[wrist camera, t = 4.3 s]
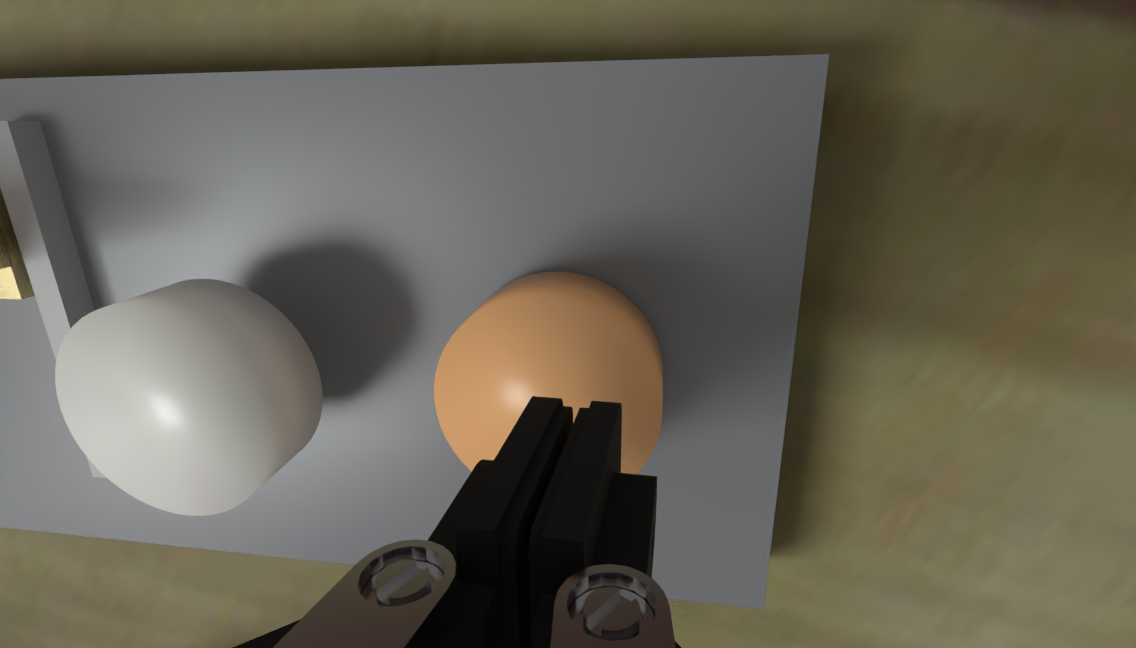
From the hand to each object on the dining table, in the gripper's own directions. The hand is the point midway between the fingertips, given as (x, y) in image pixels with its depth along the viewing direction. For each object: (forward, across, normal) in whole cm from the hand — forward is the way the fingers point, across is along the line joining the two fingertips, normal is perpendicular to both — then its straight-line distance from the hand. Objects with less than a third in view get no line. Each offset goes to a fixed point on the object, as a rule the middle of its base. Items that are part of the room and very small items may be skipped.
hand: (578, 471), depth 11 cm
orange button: (+4, +1, 0) cm, 4 cm away
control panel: (+6, +9, 0) cm, 11 cm away
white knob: (+2, +9, 0) cm, 9 cm away
